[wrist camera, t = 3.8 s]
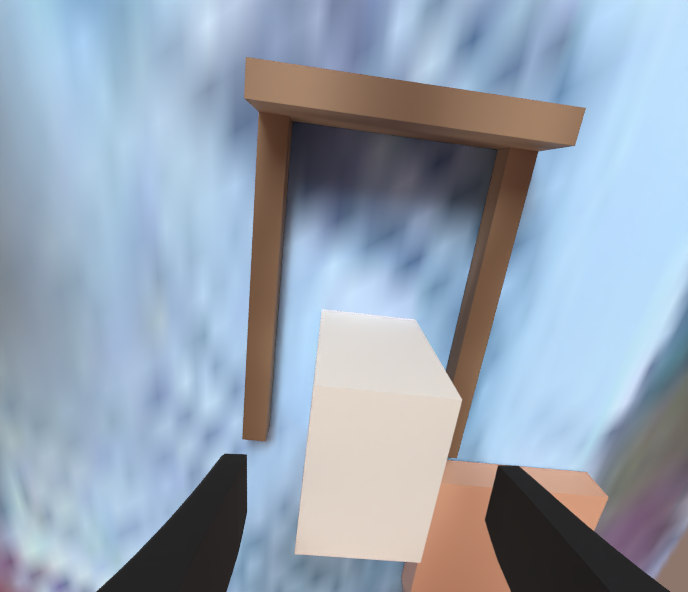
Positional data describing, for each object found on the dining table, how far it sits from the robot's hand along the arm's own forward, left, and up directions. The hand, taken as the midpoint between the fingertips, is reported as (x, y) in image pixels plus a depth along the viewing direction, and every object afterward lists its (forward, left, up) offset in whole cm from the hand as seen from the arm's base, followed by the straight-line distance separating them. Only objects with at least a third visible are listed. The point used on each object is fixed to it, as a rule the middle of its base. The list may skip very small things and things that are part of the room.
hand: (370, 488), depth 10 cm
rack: (0, -4, -6) cm, 7 cm away
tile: (-8, +8, -6) cm, 13 cm away
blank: (0, 0, -6) cm, 6 cm away
